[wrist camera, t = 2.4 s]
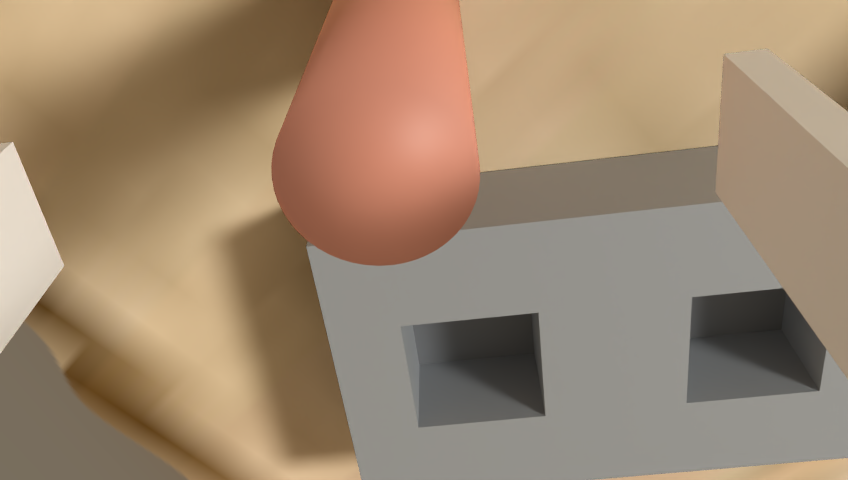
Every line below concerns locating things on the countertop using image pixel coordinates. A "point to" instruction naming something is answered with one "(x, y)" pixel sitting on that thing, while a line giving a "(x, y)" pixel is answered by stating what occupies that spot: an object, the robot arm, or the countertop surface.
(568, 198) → the bore block
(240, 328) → the countertop surface
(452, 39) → the dowel
